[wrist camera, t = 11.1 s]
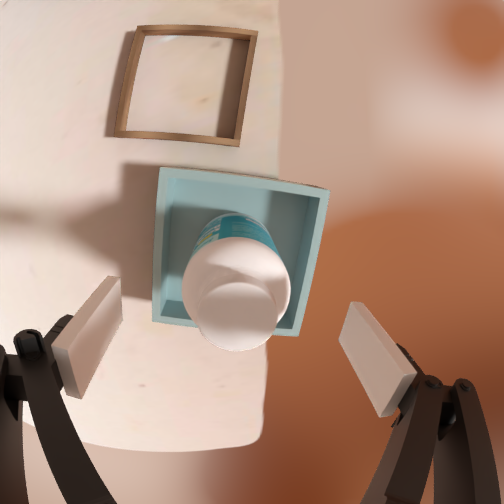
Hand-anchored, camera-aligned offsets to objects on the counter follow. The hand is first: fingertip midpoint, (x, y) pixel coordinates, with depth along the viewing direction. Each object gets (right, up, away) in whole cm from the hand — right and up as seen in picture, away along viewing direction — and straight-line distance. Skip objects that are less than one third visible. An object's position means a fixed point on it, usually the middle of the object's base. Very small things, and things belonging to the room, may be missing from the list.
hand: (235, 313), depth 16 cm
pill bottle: (-1, +4, +13) cm, 14 cm away
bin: (-1, +4, +14) cm, 15 cm away
